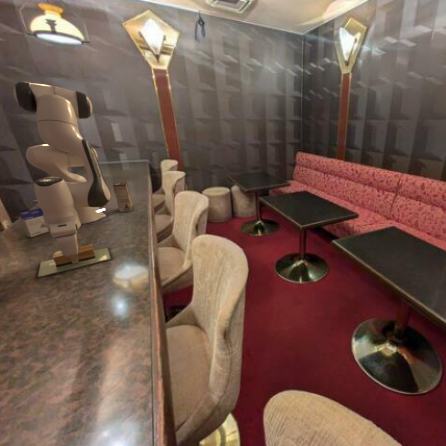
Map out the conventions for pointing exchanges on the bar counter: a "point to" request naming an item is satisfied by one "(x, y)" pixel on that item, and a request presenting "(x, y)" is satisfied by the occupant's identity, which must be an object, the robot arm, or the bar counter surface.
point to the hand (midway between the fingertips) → (75, 257)
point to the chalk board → (51, 268)
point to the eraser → (83, 255)
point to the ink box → (33, 222)
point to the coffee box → (122, 196)
